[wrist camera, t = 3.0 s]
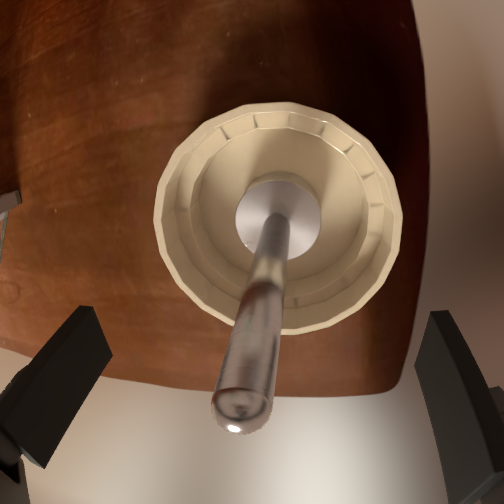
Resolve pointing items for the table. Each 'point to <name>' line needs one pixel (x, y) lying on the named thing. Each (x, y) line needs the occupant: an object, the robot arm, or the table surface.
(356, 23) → the table surface
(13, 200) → the cabinet
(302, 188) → the rod with disc base
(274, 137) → the mixing bowl
